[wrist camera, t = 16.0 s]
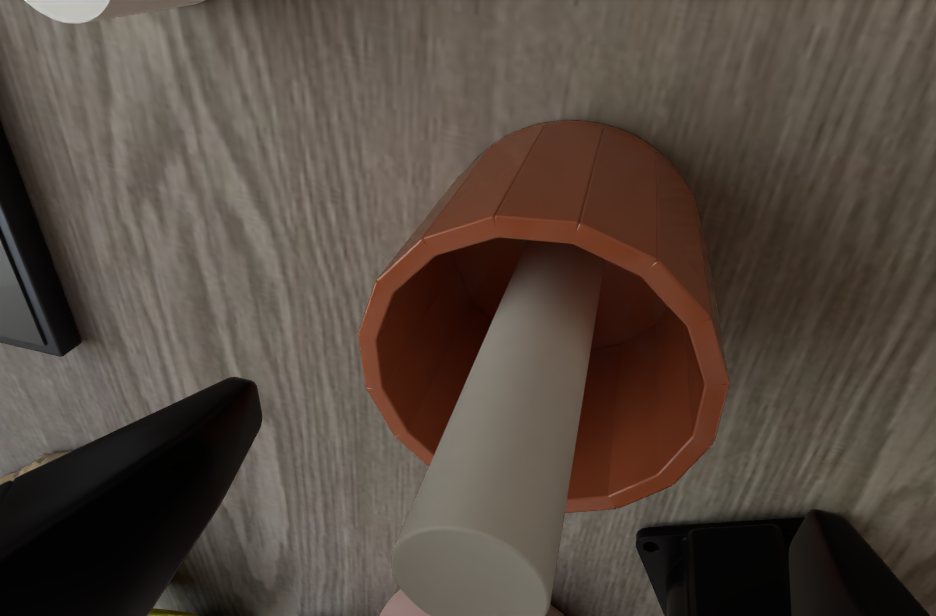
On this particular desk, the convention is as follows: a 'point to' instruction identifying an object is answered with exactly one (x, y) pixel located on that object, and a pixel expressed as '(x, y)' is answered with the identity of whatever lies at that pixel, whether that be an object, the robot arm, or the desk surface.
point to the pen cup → (618, 313)
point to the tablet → (28, 274)
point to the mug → (403, 612)
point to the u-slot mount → (101, 8)
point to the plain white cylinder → (507, 449)
